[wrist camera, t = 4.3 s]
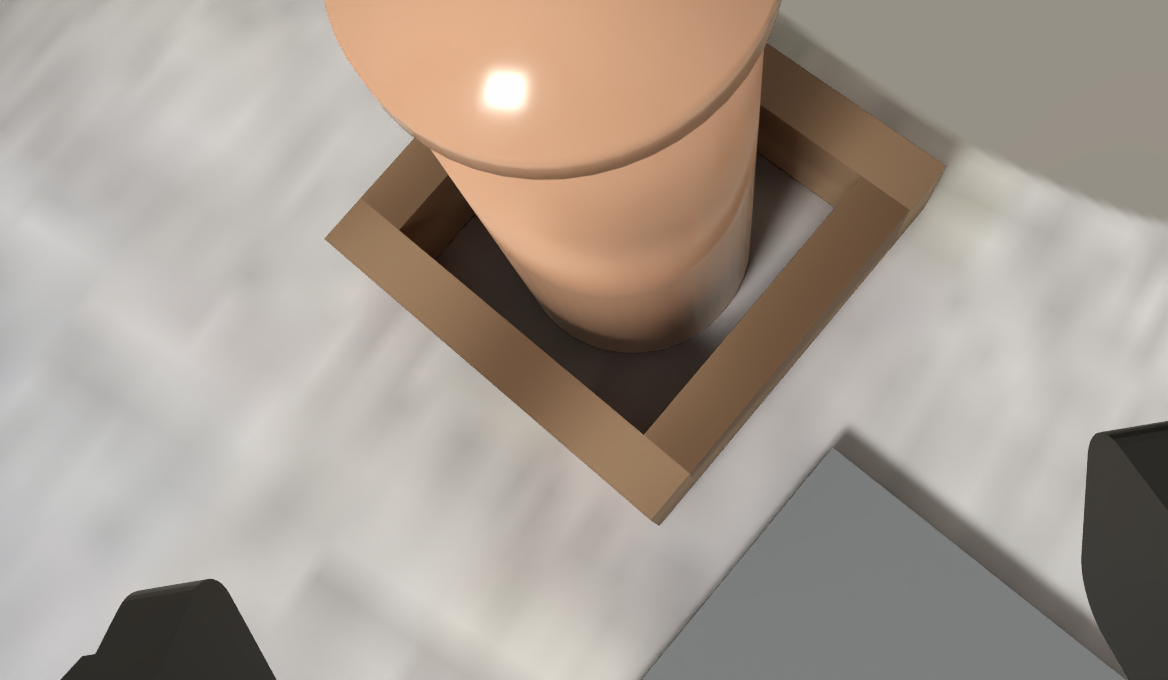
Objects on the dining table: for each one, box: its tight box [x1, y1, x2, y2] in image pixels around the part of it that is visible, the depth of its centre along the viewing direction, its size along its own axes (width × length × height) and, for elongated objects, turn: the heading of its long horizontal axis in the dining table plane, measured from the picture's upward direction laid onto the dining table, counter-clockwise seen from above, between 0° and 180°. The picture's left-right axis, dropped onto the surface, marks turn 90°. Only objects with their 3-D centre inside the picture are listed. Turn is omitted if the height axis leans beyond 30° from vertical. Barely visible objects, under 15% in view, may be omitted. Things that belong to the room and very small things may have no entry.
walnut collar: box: [325, 43, 946, 525], centre depth 23 cm, size 9×9×2 cm
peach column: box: [325, 0, 781, 353], centre depth 18 cm, size 8×6×12 cm
